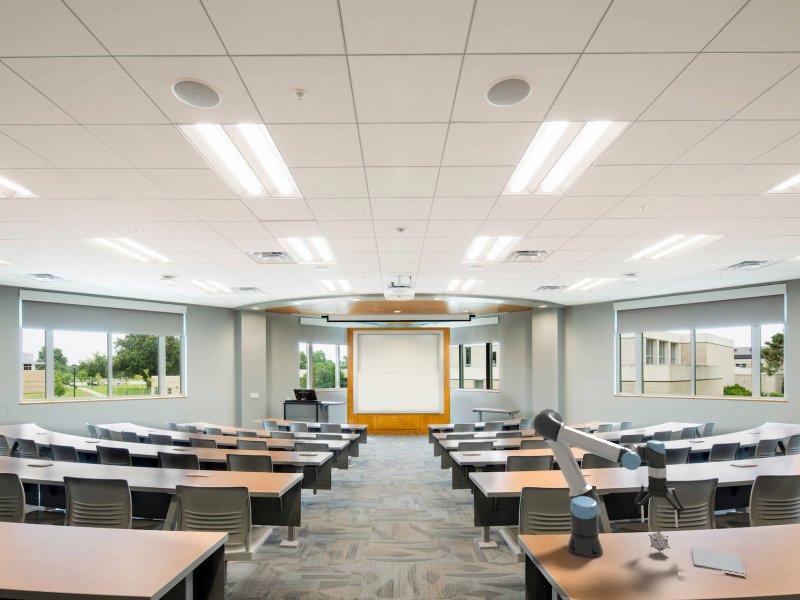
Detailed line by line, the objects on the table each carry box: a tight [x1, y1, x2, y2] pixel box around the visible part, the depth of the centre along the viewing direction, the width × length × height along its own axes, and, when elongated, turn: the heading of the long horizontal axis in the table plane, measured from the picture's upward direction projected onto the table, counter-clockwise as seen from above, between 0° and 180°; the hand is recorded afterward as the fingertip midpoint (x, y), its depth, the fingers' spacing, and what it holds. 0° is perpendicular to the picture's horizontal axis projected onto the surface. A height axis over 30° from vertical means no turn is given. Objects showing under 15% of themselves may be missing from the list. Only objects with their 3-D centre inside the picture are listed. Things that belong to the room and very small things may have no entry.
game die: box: [648, 530, 671, 553], centre depth 225 cm, size 9×8×10 cm
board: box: [691, 547, 746, 575], centre depth 215 cm, size 18×18×2 cm
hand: (659, 523), depth 225 cm, fingers open, 13 cm apart
